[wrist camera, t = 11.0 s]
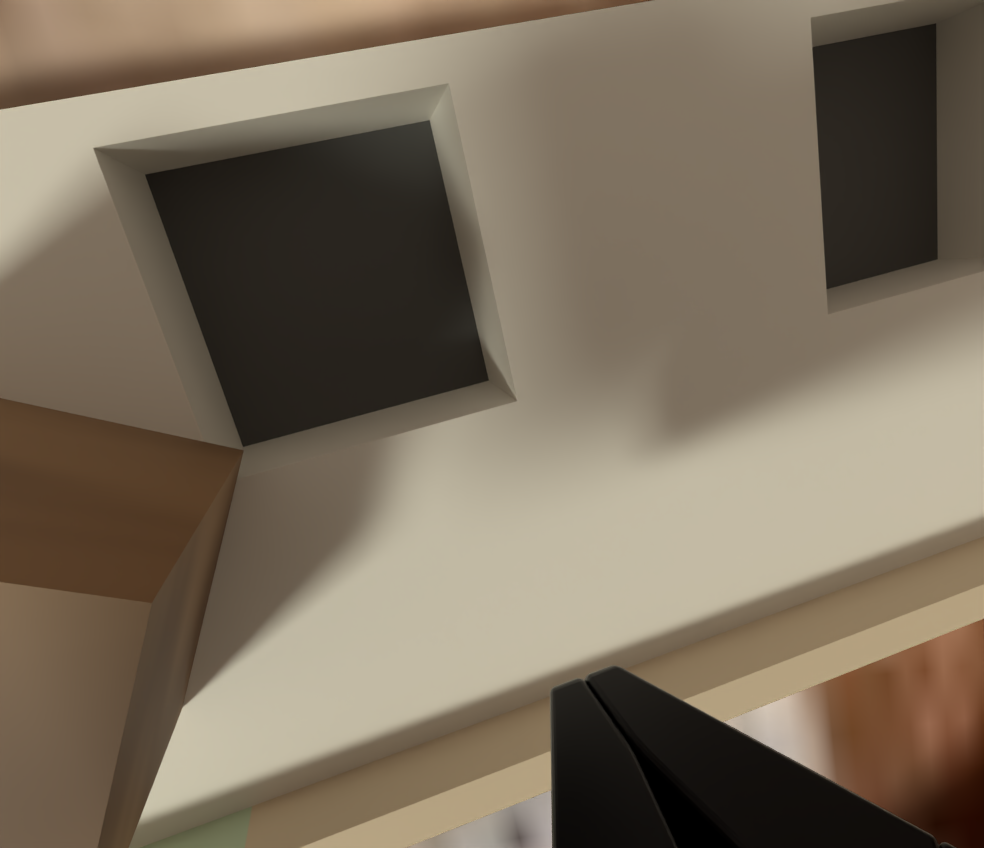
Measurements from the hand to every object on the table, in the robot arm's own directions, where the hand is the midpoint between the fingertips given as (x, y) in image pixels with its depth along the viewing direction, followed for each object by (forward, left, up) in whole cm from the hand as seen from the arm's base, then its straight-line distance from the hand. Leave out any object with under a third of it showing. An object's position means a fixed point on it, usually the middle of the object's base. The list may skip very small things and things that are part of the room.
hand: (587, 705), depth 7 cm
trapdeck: (+2, -5, -6) cm, 8 cm away
